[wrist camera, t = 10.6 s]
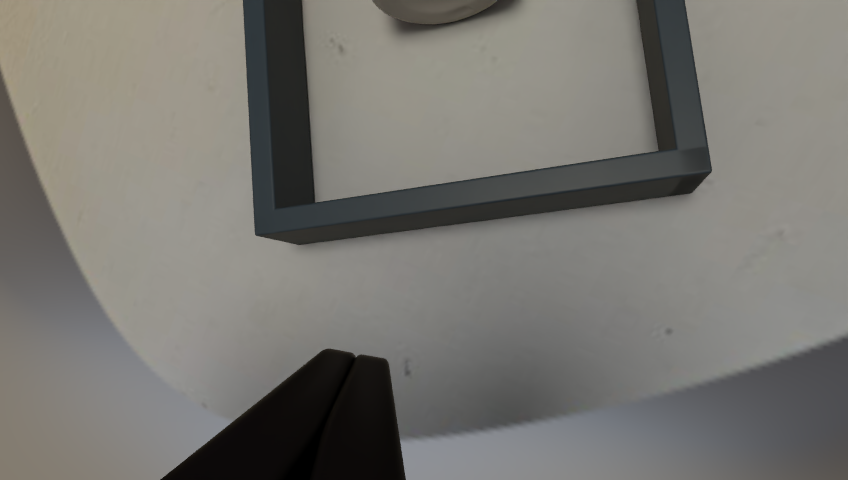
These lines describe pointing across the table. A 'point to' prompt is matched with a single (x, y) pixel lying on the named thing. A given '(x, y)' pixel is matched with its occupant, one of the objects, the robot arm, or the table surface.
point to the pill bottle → (432, 9)
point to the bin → (469, 199)
